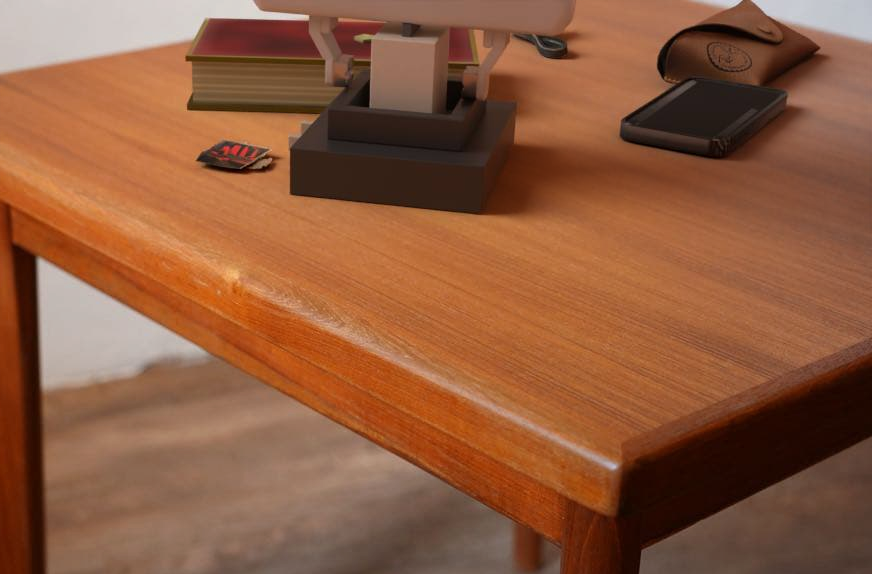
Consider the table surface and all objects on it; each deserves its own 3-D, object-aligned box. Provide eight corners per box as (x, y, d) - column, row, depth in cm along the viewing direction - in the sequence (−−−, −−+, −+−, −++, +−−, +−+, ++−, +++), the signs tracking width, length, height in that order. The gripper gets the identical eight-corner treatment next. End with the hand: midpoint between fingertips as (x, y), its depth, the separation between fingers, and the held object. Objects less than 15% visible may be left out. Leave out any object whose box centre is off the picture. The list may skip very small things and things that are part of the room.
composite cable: (571, 59, 119) (574, 29, 118) (513, 58, 119) (516, 28, 118) (557, 30, 128) (559, 2, 127) (503, 29, 128) (505, 1, 127)
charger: (445, 115, 95) (451, 11, 91) (431, 138, 90) (436, 30, 87) (385, 110, 95) (389, 7, 92) (368, 132, 91) (371, 25, 88)
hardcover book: (207, 65, 116) (206, 13, 114) (469, 72, 115) (472, 20, 113) (187, 109, 105) (185, 51, 103) (476, 117, 104) (479, 60, 102)
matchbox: (191, 167, 93) (191, 159, 93) (215, 143, 98) (215, 136, 97) (261, 173, 92) (261, 166, 92) (282, 149, 97) (282, 142, 97)
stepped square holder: (513, 144, 99) (519, 72, 97) (481, 214, 87) (486, 134, 85) (322, 126, 102) (323, 56, 100) (264, 191, 90) (264, 113, 88)
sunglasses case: (762, 92, 108) (728, 9, 107) (678, 125, 112) (645, 46, 112) (825, 47, 122) (796, -27, 121) (748, 78, 126) (719, 7, 125)
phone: (615, 122, 100) (691, 74, 111) (614, 138, 100) (689, 88, 111) (726, 143, 96) (793, 90, 107) (724, 159, 96) (791, 105, 108)
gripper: (598, -133, 86) (575, 93, 92) (270, -153, 91) (269, 64, 97) (588, -118, 81) (564, 121, 87) (239, -140, 85) (240, 89, 91)
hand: (406, 91), depth 92 cm, fingers open, 7 cm apart
